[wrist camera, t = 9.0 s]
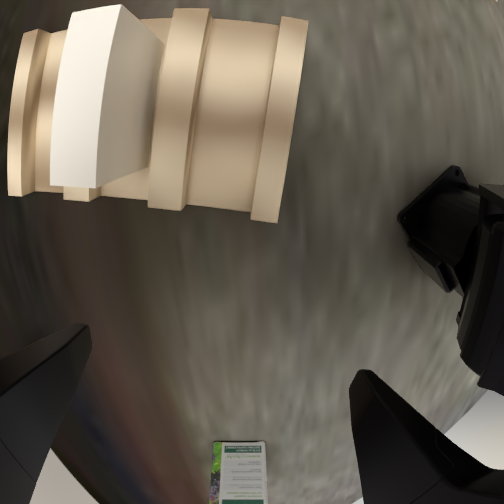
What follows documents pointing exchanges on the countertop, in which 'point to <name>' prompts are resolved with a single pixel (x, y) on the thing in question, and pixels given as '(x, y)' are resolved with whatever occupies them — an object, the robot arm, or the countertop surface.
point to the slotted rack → (182, 115)
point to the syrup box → (238, 473)
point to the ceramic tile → (104, 98)
